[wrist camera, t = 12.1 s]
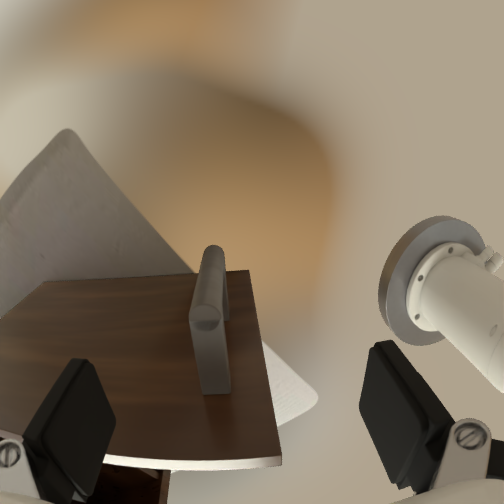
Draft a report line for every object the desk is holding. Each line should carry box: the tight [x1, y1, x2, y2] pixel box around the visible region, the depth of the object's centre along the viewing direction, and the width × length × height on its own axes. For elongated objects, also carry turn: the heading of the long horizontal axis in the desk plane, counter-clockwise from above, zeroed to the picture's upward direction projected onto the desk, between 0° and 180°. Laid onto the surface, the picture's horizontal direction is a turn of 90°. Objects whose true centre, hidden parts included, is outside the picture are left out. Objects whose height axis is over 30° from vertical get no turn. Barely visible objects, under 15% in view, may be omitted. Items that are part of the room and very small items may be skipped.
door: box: [0, 245, 282, 470], centre depth 22 cm, size 7×26×24 cm, turn 93°
